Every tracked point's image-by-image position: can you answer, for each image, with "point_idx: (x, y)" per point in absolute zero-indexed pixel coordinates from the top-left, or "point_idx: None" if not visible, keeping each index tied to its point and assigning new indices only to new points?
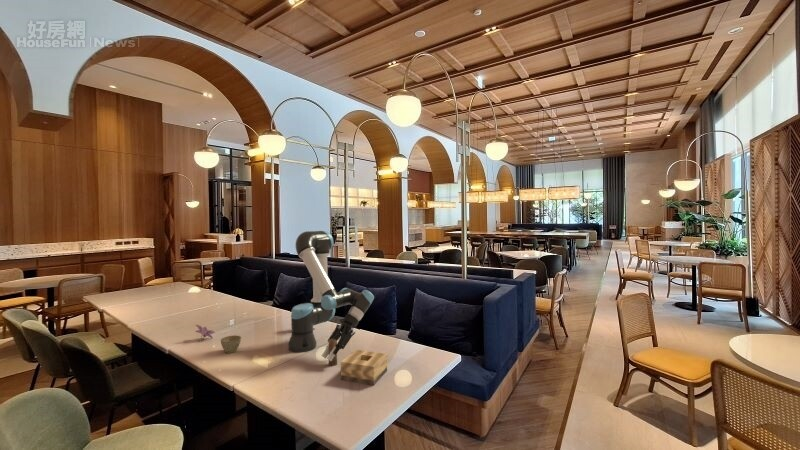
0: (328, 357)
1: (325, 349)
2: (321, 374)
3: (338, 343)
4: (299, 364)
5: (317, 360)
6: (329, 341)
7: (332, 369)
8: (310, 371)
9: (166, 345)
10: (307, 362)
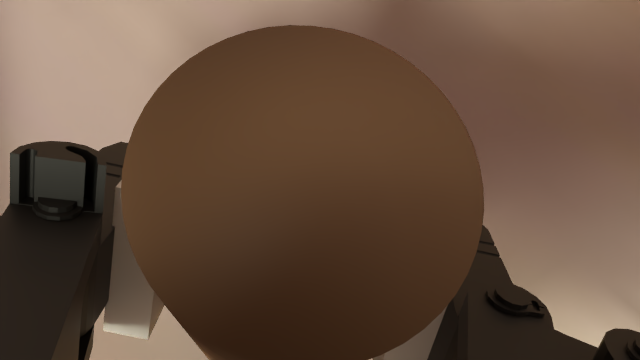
0: None
1: None
2: (171, 5)
3: (28, 255)
4: (630, 73)
5: (571, 288)
6: (327, 38)
7: None
8: (355, 3)
9: None
10: (613, 164)
